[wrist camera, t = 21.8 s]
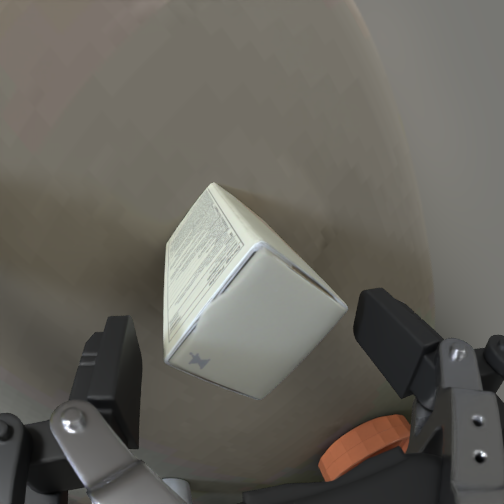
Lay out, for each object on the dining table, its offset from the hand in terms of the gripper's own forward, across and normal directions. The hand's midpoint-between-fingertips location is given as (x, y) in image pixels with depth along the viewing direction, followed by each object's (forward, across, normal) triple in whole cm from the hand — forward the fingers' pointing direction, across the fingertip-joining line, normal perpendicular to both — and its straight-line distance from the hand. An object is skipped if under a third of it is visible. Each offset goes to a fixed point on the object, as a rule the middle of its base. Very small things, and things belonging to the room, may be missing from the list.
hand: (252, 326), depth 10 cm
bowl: (+10, -19, +33) cm, 39 cm away
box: (+10, 0, 0) cm, 10 cm away
